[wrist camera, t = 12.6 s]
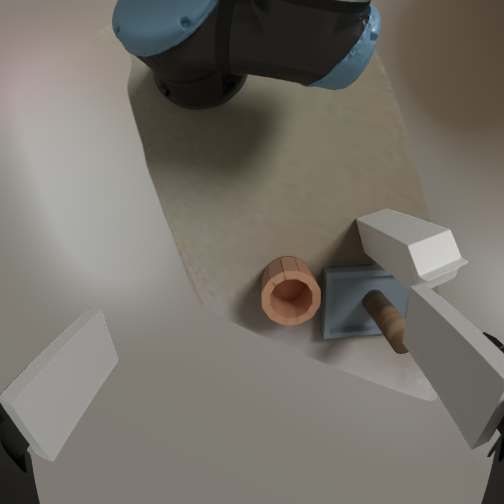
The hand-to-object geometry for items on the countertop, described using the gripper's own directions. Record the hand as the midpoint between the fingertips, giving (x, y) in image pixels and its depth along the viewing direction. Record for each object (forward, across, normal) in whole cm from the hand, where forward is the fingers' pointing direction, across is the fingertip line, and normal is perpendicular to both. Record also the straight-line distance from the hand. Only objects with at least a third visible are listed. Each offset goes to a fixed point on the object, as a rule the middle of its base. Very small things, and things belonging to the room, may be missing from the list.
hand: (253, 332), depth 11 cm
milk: (+36, +19, -5) cm, 41 cm away
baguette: (+34, +18, -17) cm, 42 cm away
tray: (+36, +18, -17) cm, 43 cm away
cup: (+36, +3, -12) cm, 38 cm away
